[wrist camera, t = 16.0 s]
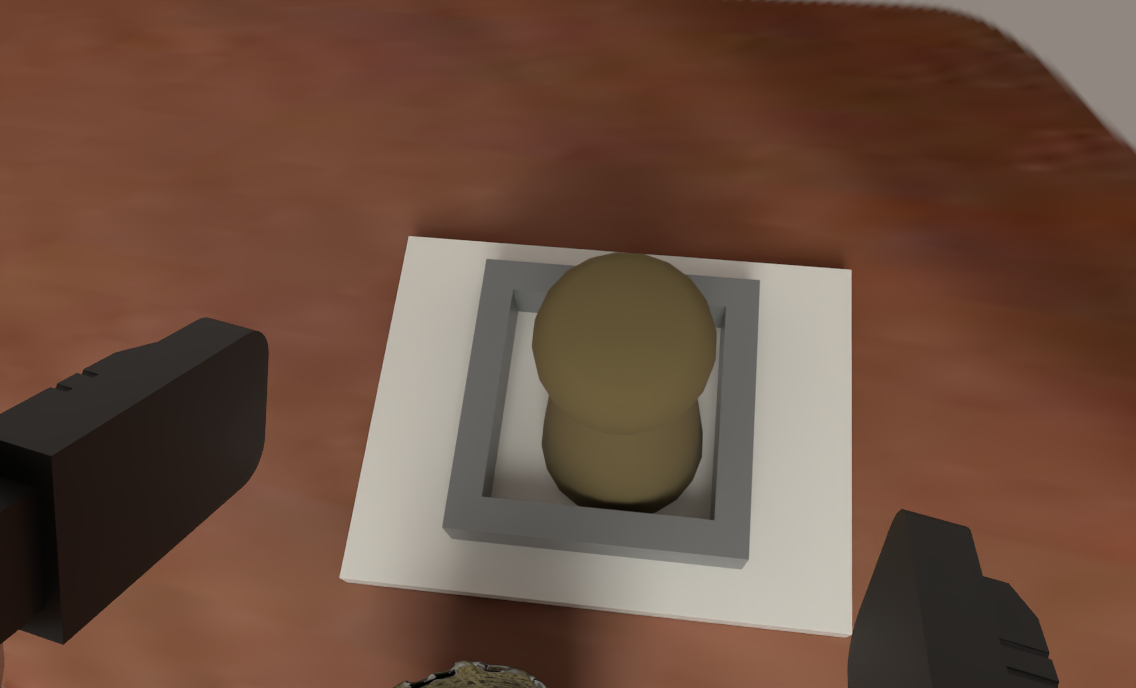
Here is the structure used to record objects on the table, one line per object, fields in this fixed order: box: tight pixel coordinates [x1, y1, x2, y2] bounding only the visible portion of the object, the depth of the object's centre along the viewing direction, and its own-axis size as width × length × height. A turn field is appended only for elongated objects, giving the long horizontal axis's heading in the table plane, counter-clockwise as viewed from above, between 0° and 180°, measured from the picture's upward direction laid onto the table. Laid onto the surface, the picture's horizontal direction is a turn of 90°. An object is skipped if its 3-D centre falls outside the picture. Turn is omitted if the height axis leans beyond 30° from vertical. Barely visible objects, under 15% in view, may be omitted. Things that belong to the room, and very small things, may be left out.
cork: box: [532, 252, 717, 514], centre depth 30 cm, size 6×6×11 cm
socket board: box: [340, 236, 852, 638], centre depth 35 cm, size 18×14×3 cm
